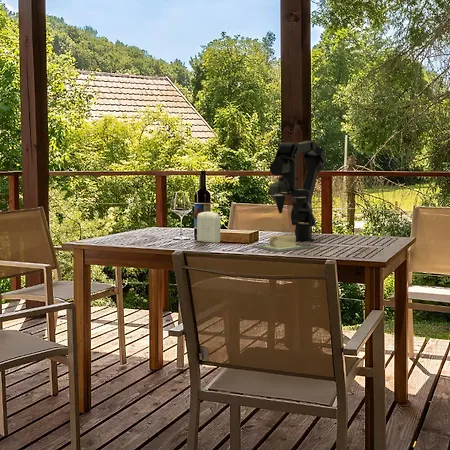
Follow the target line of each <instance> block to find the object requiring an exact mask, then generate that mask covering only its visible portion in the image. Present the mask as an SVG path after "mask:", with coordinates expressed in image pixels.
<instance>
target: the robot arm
mask: <svg viewBox="0 0 450 450" xmlns="http://www.w3.org/2000/svg"><path fill="white" fill-rule="evenodd" d="M301 153H303V154H302V157H303V160H304V165H305V167H306V172H305V175H304V180H303V184H302V188H299V187H296V185H297V184H296V182H297V181H298V179H299V178H298V177H297V176H296V175H297V173H296V171H297V168H296V167H297V163H299V162H298V159H296V158H297V157H299V156H300V154H301ZM326 162H327V155H326V152H325V151H324V148H321V147H320V146H319V145H318V144H317V142H316V141H314V140H304V141H301V142H281V143H280V144H279V146H278V148H277V151H276V153H275V156H274V159H273V161H272V162H271V163H270V165H269V171H270V173H271V174H272V175H273V176H279V177H278V179H277V180H278V181H276V182H274V183H272V184H270V185H269V186H268V190H267V195H269V196H270V198H272V199H273V200H274V202H275V204H276V207H277V210H278V214H282V213H283V210H284V207H285V200H286V195H289V196H290V195H291V196H292V197H291V200H292V201H293V204H292V208H291V211H290V220H291V225H292V226H295V228H294V235H295V236H296V241H300V242H307V241H314V240H315V238H312V235H313V234H312V230H313V229H312V227H315V226H316V218H315V216H314V213H313V212H314V209H313V207H312V204H311V203H312V199H313V196H314V191H315V186H316V183H317V178H318V175H319V173H320V172H321V171H322V170H323V169H324V167H325V164H326Z"/></svg>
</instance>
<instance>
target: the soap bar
mask: <svg viewBox="0 0 450 450" xmlns="http://www.w3.org/2000/svg"><path fill="white" fill-rule="evenodd" d="M196 224H197V225H196V241H197V242H204V243H214V244H218V243H220V242H221V216H220V214H218V213H217V212H213V211H202V212H199V213H198V214H197V217H196Z"/></svg>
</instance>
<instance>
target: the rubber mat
mask: <svg viewBox="0 0 450 450" xmlns="http://www.w3.org/2000/svg"><path fill="white" fill-rule="evenodd" d="M251 248H253V249H258V250H265V251H271V252H277V253H283V251H284V252H290V251H289V250H292V251H298V250H307V249H314V248H315V246H312V245H305V244H299V243H296V246H291V247H282V248H275V247H270V243H269V244H267V243H266V244H260V245H259V244H258V245H252V246H251Z"/></svg>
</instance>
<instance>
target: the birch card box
mask: <svg viewBox="0 0 450 450" xmlns="http://www.w3.org/2000/svg"><path fill="white" fill-rule="evenodd" d="M296 241H297V240H296V236H295V234H294V235H293V234H280V235H279V234H276V235H269V244H270V247H275V248H282V247H291V246H296V244H297V242H296Z"/></svg>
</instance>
